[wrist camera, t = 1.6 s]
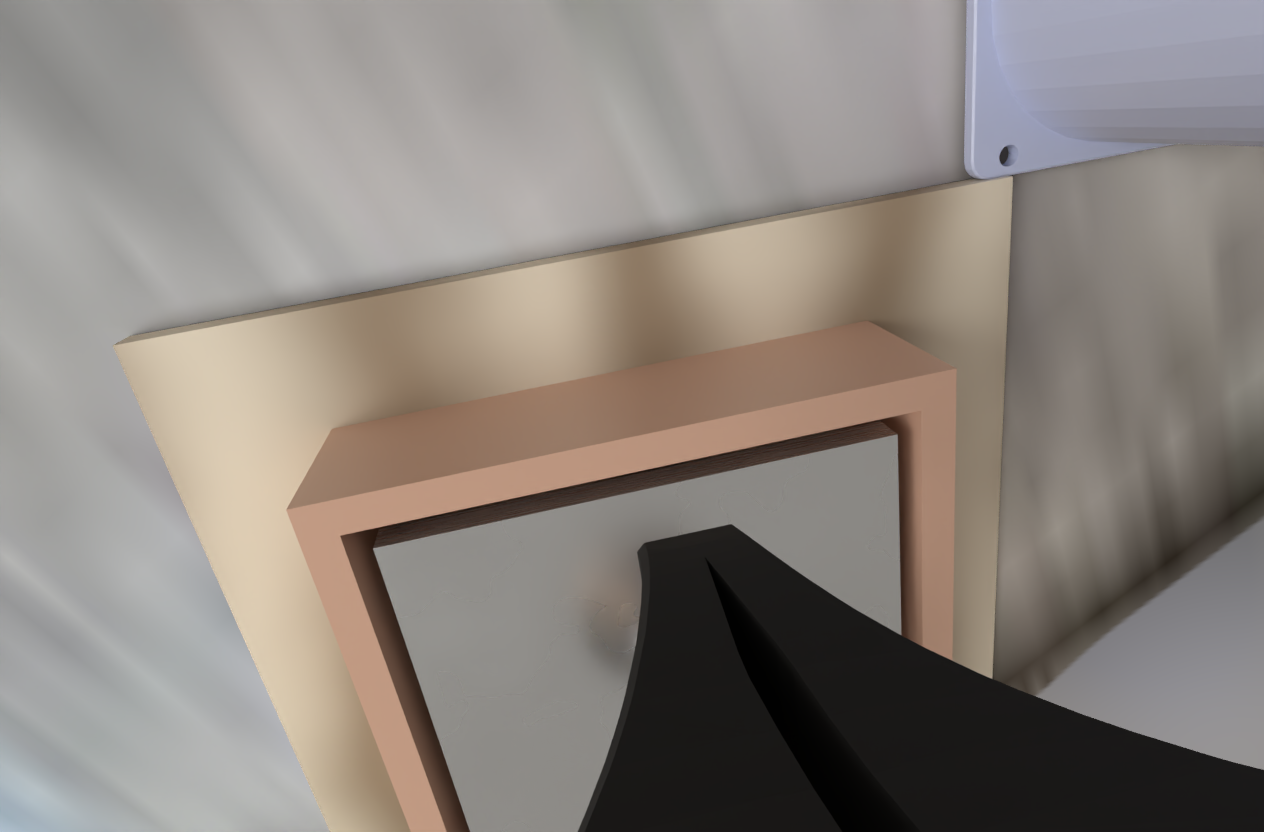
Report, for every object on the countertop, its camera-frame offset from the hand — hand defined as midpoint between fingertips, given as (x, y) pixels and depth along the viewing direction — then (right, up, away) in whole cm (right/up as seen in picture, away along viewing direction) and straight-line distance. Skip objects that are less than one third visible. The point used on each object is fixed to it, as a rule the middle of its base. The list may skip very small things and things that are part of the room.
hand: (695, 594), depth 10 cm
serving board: (-1, -3, +12) cm, 12 cm away
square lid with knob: (0, -4, +9) cm, 9 cm away
